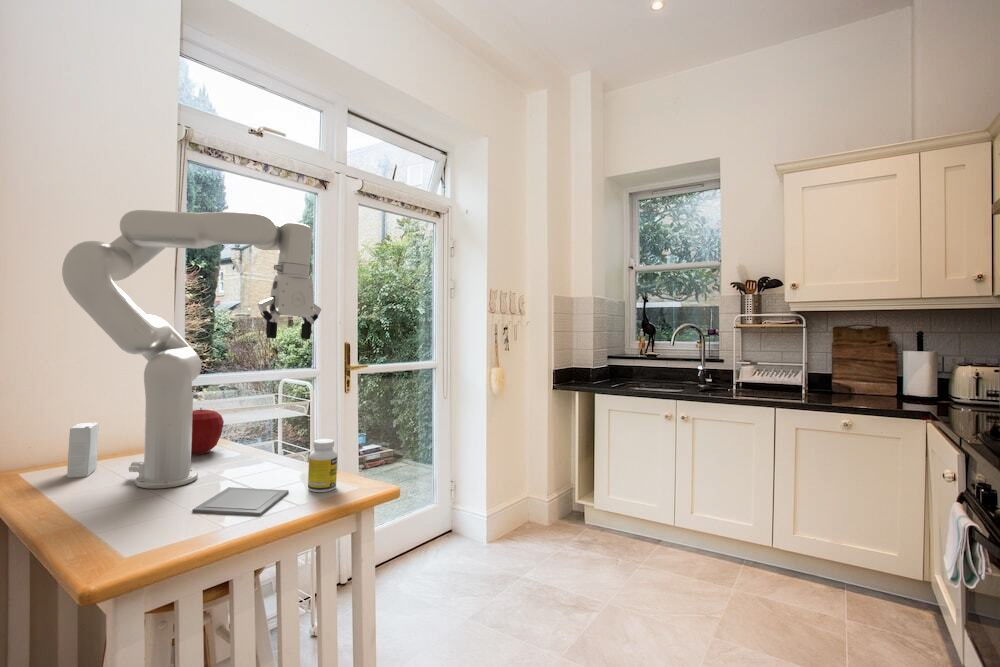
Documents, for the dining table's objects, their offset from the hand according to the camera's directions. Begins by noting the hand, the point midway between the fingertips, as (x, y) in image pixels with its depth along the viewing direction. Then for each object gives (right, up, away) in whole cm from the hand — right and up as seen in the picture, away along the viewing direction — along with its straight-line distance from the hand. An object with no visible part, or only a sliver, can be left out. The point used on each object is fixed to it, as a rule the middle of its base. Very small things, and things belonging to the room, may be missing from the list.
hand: (288, 338), depth 131 cm
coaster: (-2, -36, -19) cm, 40 cm away
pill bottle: (+11, -36, -8) cm, 39 cm away
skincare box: (-48, -33, -6) cm, 59 cm away
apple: (-33, -34, +17) cm, 50 cm away
